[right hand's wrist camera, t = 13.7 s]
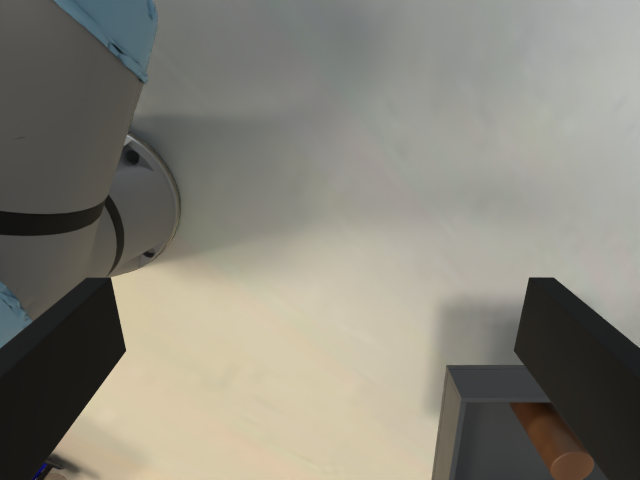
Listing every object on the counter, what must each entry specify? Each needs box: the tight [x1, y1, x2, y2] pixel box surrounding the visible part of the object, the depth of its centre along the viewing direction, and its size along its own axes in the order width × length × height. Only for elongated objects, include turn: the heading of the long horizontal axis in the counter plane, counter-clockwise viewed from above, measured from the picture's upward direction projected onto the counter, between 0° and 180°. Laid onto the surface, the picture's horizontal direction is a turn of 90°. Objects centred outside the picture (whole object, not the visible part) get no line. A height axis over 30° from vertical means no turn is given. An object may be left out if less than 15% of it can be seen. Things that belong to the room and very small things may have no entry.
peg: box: [510, 402, 594, 480], centre depth 33 cm, size 3×3×7 cm
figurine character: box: [32, 460, 66, 480], centre depth 50 cm, size 7×8×15 cm
